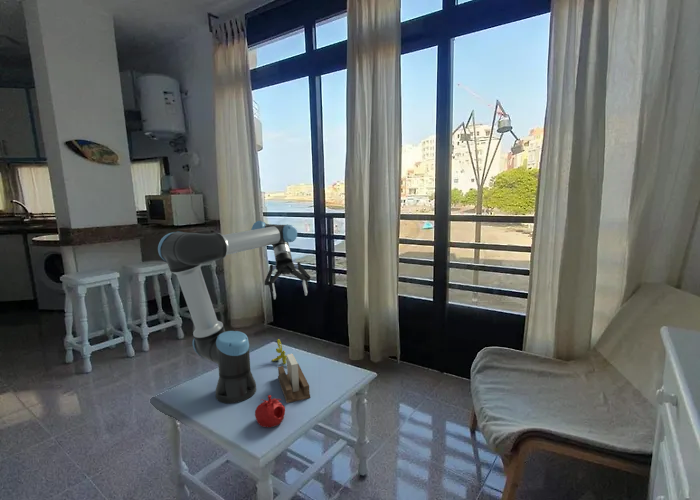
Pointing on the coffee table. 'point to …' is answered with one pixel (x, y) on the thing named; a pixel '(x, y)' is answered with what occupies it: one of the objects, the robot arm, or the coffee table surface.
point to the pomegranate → (270, 412)
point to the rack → (287, 389)
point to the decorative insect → (281, 353)
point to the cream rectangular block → (292, 372)
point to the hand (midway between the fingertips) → (290, 295)
